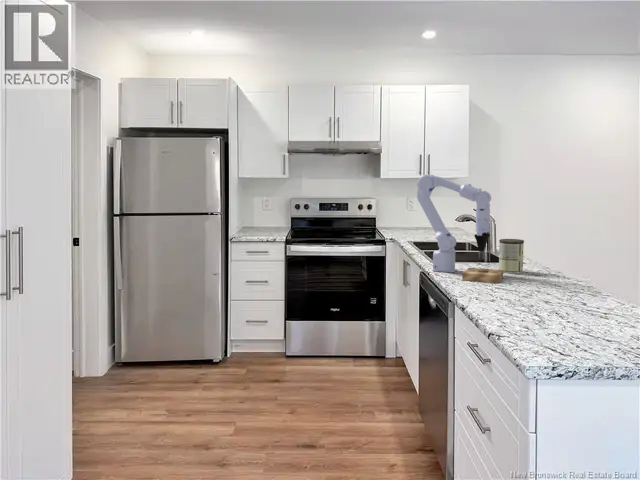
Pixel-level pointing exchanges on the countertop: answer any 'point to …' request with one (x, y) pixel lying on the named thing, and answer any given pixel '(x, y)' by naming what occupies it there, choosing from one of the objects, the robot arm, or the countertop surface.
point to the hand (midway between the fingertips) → (481, 250)
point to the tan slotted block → (482, 275)
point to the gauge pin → (482, 254)
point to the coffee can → (511, 255)
